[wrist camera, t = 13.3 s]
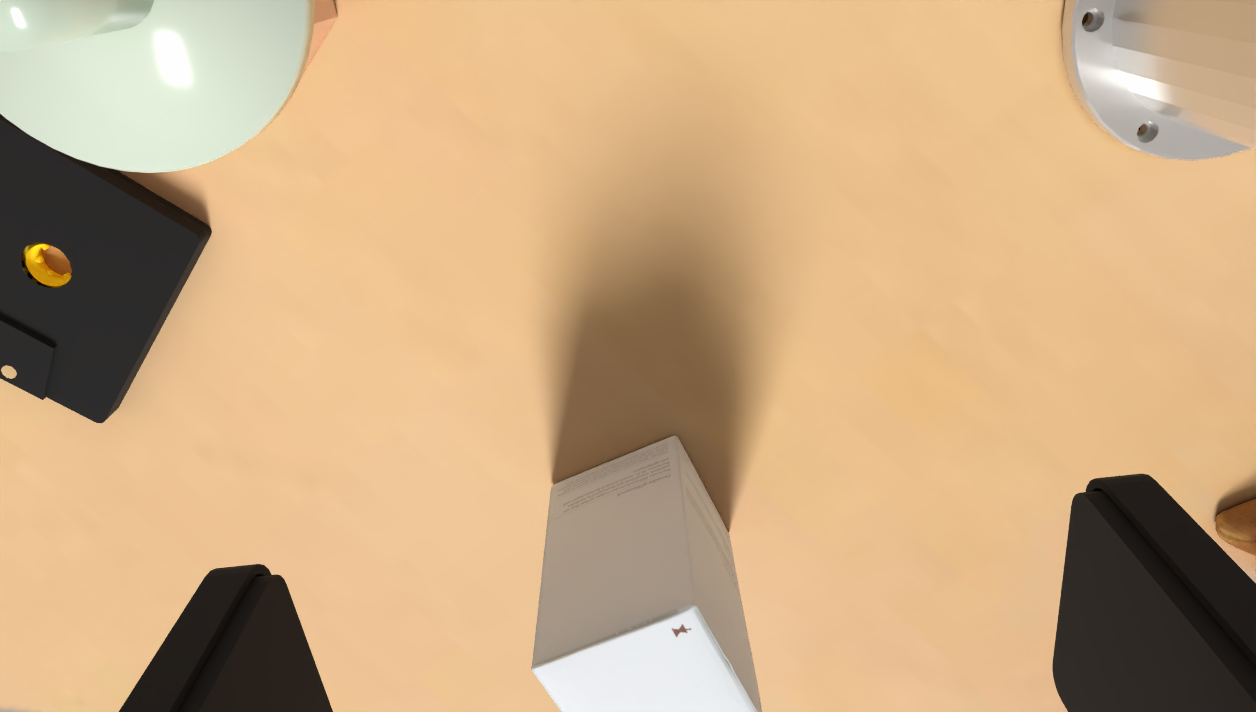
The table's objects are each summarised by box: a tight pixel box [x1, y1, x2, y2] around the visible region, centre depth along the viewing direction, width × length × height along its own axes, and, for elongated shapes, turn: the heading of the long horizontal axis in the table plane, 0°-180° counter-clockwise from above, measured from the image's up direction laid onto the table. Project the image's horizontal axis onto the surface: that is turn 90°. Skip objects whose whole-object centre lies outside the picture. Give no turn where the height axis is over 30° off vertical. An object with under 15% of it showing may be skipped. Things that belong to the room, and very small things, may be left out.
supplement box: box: [531, 435, 762, 712], centre depth 41 cm, size 7×7×13 cm
